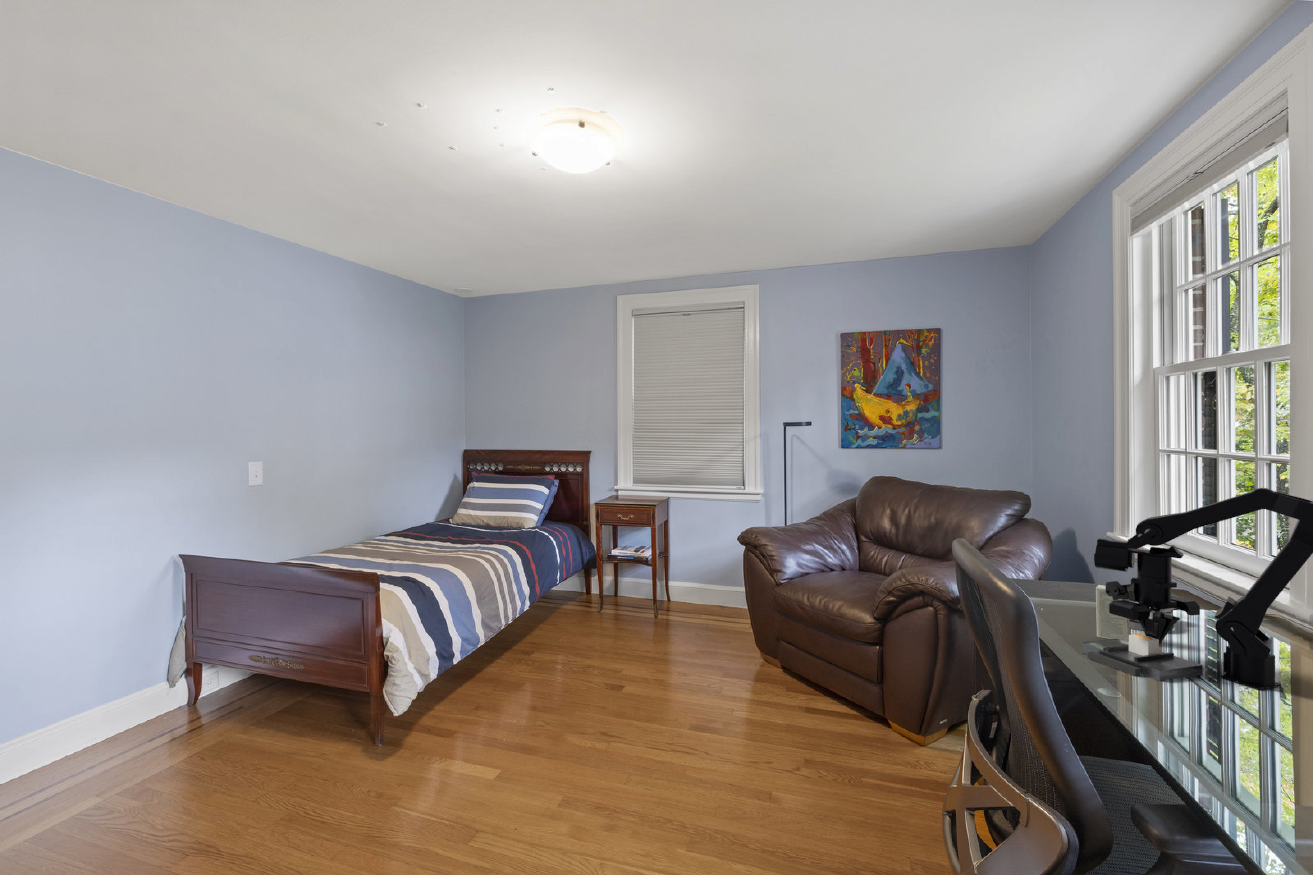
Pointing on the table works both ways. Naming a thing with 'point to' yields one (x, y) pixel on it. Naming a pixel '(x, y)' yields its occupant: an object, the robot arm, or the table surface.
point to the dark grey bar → (1114, 663)
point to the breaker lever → (1143, 644)
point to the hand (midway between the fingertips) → (1153, 647)
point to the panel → (1146, 660)
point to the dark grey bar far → (1100, 640)
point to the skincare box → (1109, 618)
